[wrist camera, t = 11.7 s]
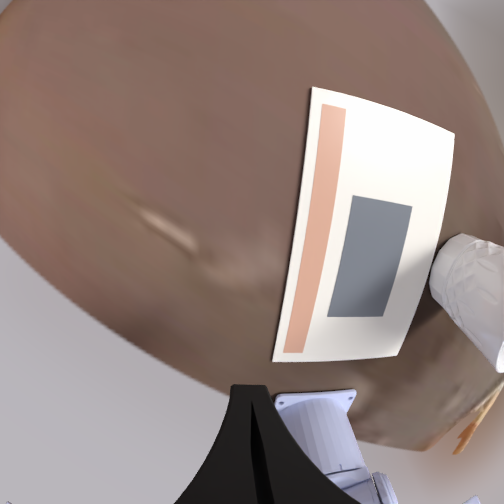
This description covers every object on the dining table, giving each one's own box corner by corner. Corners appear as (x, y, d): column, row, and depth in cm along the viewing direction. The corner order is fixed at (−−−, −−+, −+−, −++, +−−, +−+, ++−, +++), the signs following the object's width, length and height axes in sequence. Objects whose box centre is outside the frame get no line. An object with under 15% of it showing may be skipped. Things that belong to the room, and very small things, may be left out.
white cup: (411, 308, 21) (478, 383, 11) (438, 219, 18) (533, 266, 9) (464, 307, 21) (524, 363, 12) (489, 233, 19) (564, 273, 9)
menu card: (395, 354, 22) (396, 355, 22) (272, 360, 21) (272, 362, 21) (452, 133, 16) (454, 134, 15) (311, 87, 15) (312, 86, 14)
